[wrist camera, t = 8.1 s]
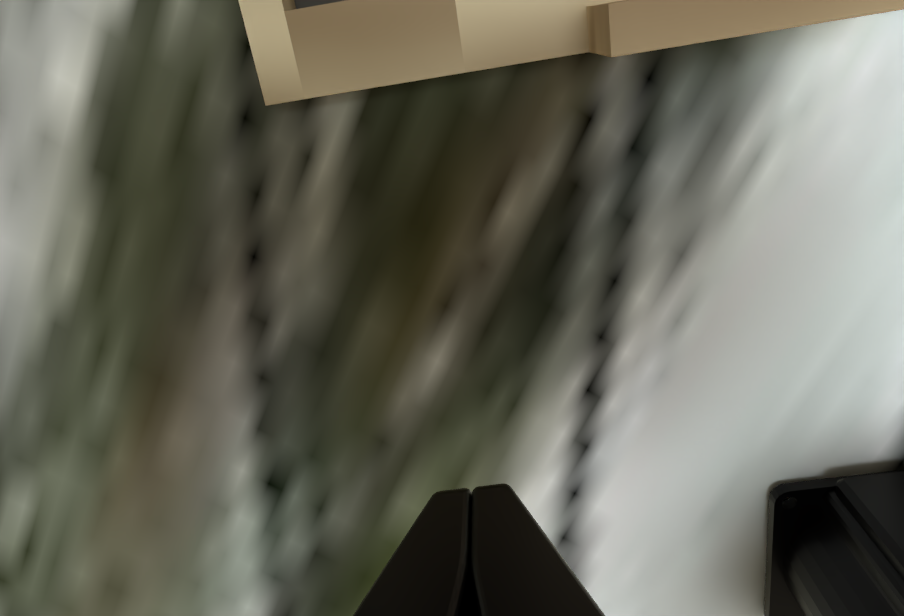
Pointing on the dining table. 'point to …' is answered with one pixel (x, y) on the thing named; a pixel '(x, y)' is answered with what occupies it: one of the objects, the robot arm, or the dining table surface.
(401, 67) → the deck
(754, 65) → the dining table surface
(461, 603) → the robot arm
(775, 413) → the dining table surface
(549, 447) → the dining table surface
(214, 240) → the dining table surface
